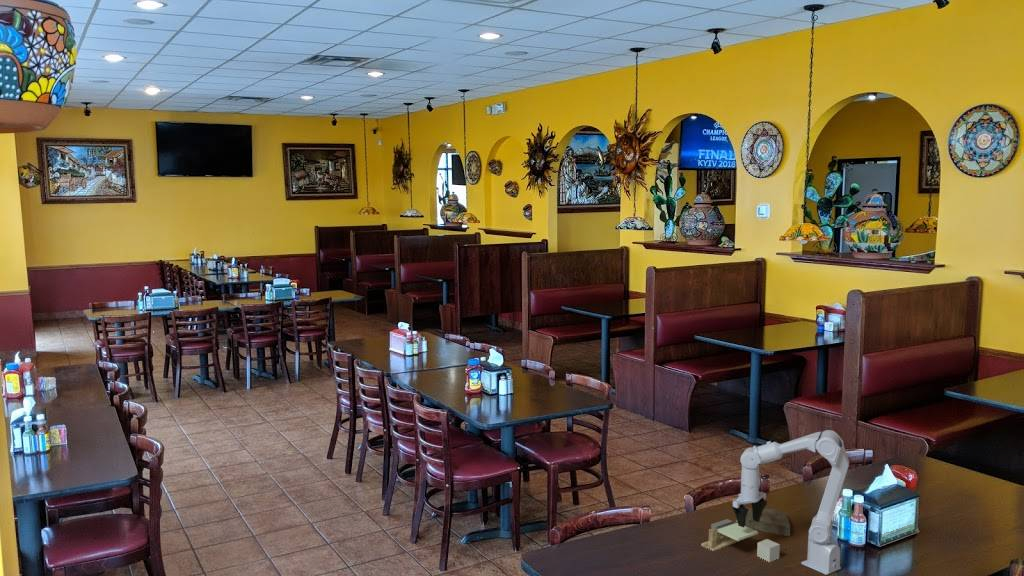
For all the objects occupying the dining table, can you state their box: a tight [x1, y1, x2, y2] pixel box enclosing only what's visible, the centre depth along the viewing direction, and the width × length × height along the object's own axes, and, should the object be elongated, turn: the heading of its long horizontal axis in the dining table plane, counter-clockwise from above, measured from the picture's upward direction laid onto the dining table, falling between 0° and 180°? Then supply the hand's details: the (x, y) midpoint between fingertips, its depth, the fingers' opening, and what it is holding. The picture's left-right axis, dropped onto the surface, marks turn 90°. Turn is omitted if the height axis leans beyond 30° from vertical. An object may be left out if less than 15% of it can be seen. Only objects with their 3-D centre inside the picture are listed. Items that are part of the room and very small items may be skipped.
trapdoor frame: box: [700, 519, 744, 552], centre depth 273 cm, size 5×15×7 cm, turn 124°
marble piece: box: [745, 507, 791, 537], centre depth 288 cm, size 17×15×4 cm
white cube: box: [756, 538, 781, 563], centre depth 262 cm, size 5×5×5 cm
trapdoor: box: [710, 518, 759, 542], centre depth 269 cm, size 12×10×1 cm
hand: (748, 523), depth 266 cm, fingers open, 7 cm apart
